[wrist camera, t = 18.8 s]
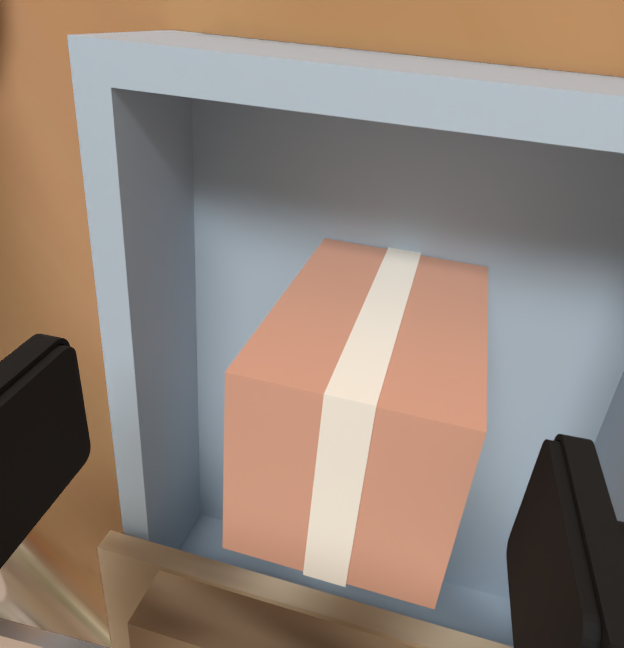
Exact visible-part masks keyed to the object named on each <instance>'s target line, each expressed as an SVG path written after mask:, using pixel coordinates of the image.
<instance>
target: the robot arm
mask: <svg viewBox="0 0 624 648" xmlns="http://www.w3.org/2000/svg"><path fill="white" fill-rule="evenodd" d="M89 453H90V439H89V432H88V426H87V420H86V413H85V407H84V400H83V394H82V387H81V381H80V375H79V368H78V362H77V355H76V351H75V349H74V348H72V347H70V345H69V342H68V341H67V340H66V339H64V338H59V337H54V336H49V335H43V334H36V335H34V336H32V337H31V338H30V339H28V340H27V341H26V342H25V343H23V344H22V345H21V346H20V347H18V348H17V349H16V350H14V351H13V352H12V353H11V354H9V355H8V356H7V357H6V358H4V359H3V360H2V361H1V362H0V569H1V567H2V566H3V565H4V564H5V562H6V561H7V560H8V559H9V557H10V556H11V555H12V554H13V552H14V551H15V550H16V549H17V547H18V546H19V545H20V544H21V542H22V541H23V540H24V539H25V537H26V536H27V535H28V534H29V532H30V531H31V530H32V529H33V527H34V526H35V525H36V524H37V522H38V521H39V520H40V519H41V517H42V516H43V515H44V514H45V513H46V511H47V510H48V509H49V508H50V506H51V505H52V504H53V503H54V501H55V500H56V499H57V498H58V496H59V495H60V494H61V493H62V491H63V490H64V489H65V488H66V486H67V485H68V484H69V483H70V481H71V480H72V479H73V478H74V476H75V475H76V474H77V473H78V471H79V470H80V469H81V468H82V466H83V465H84V464H85V462H86V461H87V459H88V457H89ZM506 560H507V572H508V585H509V597H510V609H511V622H512V634H513V646H514V648H624V522H622V521H617V518H616V515H615V512H614V508H613V505H612V502H611V498H610V495H609V492H608V488H607V485H606V482H605V478H604V475H603V472H602V468H601V465H600V461H599V458H598V455H597V451H596V448H595V445H594V443H593V441H592V440H590V439H585V438H580V437H575V436H569V435H564V434H557V436H556V437H555V439H554V441H553V440H548V439H546V440H544V442H543V444H542V446H541V449H540V452H539V455H538V457H537V460H536V463H535V466H534V469H533V471H532V474H531V477H530V480H529V483H528V485H527V488H526V491H525V494H524V497H523V499H522V502H521V505H520V508H519V510H518V513H517V516H516V519H515V522H514V524H513V527H512V530H511V533H510V536H509V539H508V543H507V551H506ZM0 648H108V647H104V646H101V645H97V644H93V643H90V642H86V641H83V640H79V639H75V638H72V637H68V636H64V635H61V634H57V633H53V632H50V631H46V630H42V629H38V628H35V627H31V626H27V625H24V624H20V623H16V622H13V621H9V620H5V619H2V618H0Z"/></svg>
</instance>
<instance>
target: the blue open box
mask: <svg viewBox="0 0 624 648" xmlns="http://www.w3.org/2000/svg"><path fill="white" fill-rule="evenodd" d="M67 38H68V47H69V56H70V65H71V73H72V82H73V91H74V100H75V109H76V118H77V127H78V136H79V144H80V153H81V162H82V171H83V180H84V189H85V198H86V207H87V216H88V224H89V233H90V242H91V251H92V260H93V269H94V278H95V287H96V295H97V304H98V313H99V322H100V331H101V340H102V349H103V358H104V366H105V375H106V384H107V393H108V402H109V411H110V420H111V429H112V437H113V446H114V455H115V464H116V473H117V482H118V491H119V500H120V509H121V517H122V526H123V534H126V535H130V536H133V537H137V538H140V539H143V540H147V541H150V542H154V543H157V544H161V545H164V546H167V547H171V548H174V549H178V550H181V551H185V552H188V553H191V554H195V555H198V556H202V557H205V558H209V559H212V560H216V561H219V562H222V563H226V564H229V565H233V566H236V567H240V568H243V569H246V570H250V571H253V572H257V573H260V574H264V575H267V576H271V577H274V578H277V579H281V580H284V581H288V582H291V583H295V584H298V585H301V586H305V587H308V588H312V589H315V590H319V591H322V592H325V593H329V594H332V595H336V596H339V597H343V598H346V599H350V600H353V601H356V602H360V603H363V604H367V605H370V606H374V607H377V608H380V609H384V610H387V611H391V612H394V613H398V614H401V615H404V616H408V617H411V618H415V619H418V620H422V621H425V622H429V623H432V624H435V625H439V626H442V627H446V628H449V629H453V630H456V631H459V632H463V633H466V634H470V635H473V636H477V637H480V638H484V639H487V640H490V641H494V642H497V643H501V644H504V645H508V646H511V647H514V646H513V634H512V622H511V609H510V597H509V585H508V572H507V560H506V551H507V543H508V539H509V536H510V533H511V530H512V527H513V524H514V522H515V519H516V516H517V513H518V510H519V508H520V505H521V502H522V499H523V497H524V494H525V491H526V488H527V485H528V483H529V480H530V477H531V474H532V471H533V469H534V466H535V463H536V460H537V457H538V455H539V452H540V449H541V446H542V444H543V442H544V440H546V439H548V440H553V441H554V439H555V437H556V436H557V434H564V435H569V436H575V437H580V438H585V439H590V440H592V441H593V443H594V445H595V448H596V451H597V455H598V458H599V461H600V465H601V468H602V472H603V475H604V478H605V482H606V485H607V488H608V492H609V495H610V498H611V502H612V505H613V508H614V512H615V515H616V518H617V521H622V522H624V77H614V76H605V75H595V74H586V73H576V72H567V71H557V70H548V69H538V68H528V67H519V66H509V65H500V64H490V63H481V62H471V61H462V60H452V59H443V58H433V57H424V56H414V55H405V54H395V53H386V52H376V51H367V50H357V49H347V48H338V47H328V46H319V45H309V44H300V43H290V42H281V41H271V40H262V39H252V38H243V37H233V36H224V35H214V34H205V33H195V32H186V31H176V30H160V31H138V32H117V33H95V34H73V35H67ZM324 238H327V239H332V240H338V241H344V242H349V243H355V244H361V245H366V246H372V247H378V248H383V249H388V247H390V248H396V249H401V250H407V251H413V252H418V253H421V255H423V256H428V257H434V258H440V259H445V260H451V261H457V262H462V263H468V264H474V265H479V266H485V267H488V346H487V433H486V436H485V440H484V443H483V446H482V450H481V453H480V457H479V460H478V463H477V467H476V470H475V474H474V477H473V480H472V484H471V487H470V491H469V494H468V497H467V501H466V504H465V508H464V511H463V514H462V518H461V521H460V525H459V528H458V531H457V535H456V538H455V542H454V545H453V548H452V552H451V555H450V559H449V562H448V565H447V569H446V572H445V576H444V579H443V582H442V586H441V589H440V593H439V596H438V599H437V603H436V606H435V610H434V609H431V608H427V607H424V606H420V605H417V604H414V603H410V602H407V601H403V600H400V599H396V598H393V597H389V596H386V595H383V594H379V593H376V592H372V591H369V590H365V589H362V588H359V587H355V586H352V585H348V584H346V586H345V587H343V586H340V585H336V584H333V583H329V582H326V581H323V580H319V579H316V578H312V577H309V576H305V575H303V571H300V570H297V569H293V568H290V567H286V566H283V565H279V564H276V563H273V562H269V561H266V560H262V559H259V558H255V557H252V556H248V555H245V554H242V553H238V552H235V551H231V550H228V549H224V548H222V541H223V470H224V400H225V371H226V370H227V369H228V367H229V366H230V365H231V363H232V362H233V361H234V359H235V358H236V357H237V355H238V354H239V352H240V351H241V350H242V348H243V347H244V346H245V344H246V343H247V342H248V340H249V339H250V338H251V336H252V335H253V334H254V332H255V331H256V330H257V328H258V327H259V326H260V324H261V323H262V322H263V320H264V319H265V318H266V316H267V315H268V314H269V312H270V311H271V310H272V308H273V307H274V305H275V304H276V303H277V301H278V300H279V299H280V297H281V296H282V295H283V293H284V292H285V291H286V289H287V288H288V287H289V285H290V284H291V283H292V281H293V280H294V279H295V277H296V276H297V275H298V273H299V272H300V271H301V269H302V268H303V267H304V265H305V264H306V263H307V261H308V260H309V258H310V257H311V256H312V254H313V253H314V252H315V250H316V249H317V248H318V246H319V245H320V244H321V242H322V241H323V240H324Z"/></svg>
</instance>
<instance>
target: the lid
mask: <svg viewBox="0 0 624 648" xmlns="http://www.w3.org/2000/svg"><path fill="white" fill-rule="evenodd" d="M97 551H98V558H99V565H100V571H101V578H102V585H103V592H104V599H105V606H106V612H107V619H108V626H109V633H110V640H111V647H112V648H514V647H511V646H508V645H504V644H501V643H497V642H494V641H490V640H487V639H484V638H480V637H477V636H473V635H470V634H466V633H463V632H459V631H456V630H453V629H449V628H446V627H442V626H439V625H435V624H432V623H429V622H425V621H422V620H418V619H415V618H411V617H408V616H404V615H401V614H398V613H394V612H391V611H387V610H384V609H380V608H377V607H374V606H370V605H367V604H363V603H360V602H356V601H353V600H350V599H346V598H343V597H339V596H336V595H332V594H329V593H325V592H322V591H319V590H315V589H312V588H308V587H305V586H301V585H298V584H295V583H291V582H288V581H284V580H281V579H277V578H274V577H271V576H267V575H264V574H260V573H257V572H253V571H250V570H246V569H243V568H240V567H236V566H233V565H229V564H226V563H222V562H219V561H216V560H212V559H209V558H205V557H202V556H198V555H195V554H191V553H188V552H185V551H181V550H178V549H174V548H171V547H167V546H164V545H161V544H157V543H154V542H150V541H147V540H143V539H140V538H137V537H133V536H130V535H126V534H123V533H119V532H116V531H112V530H110V531H109V532H108V533H107V535H106V536H105V537H104V539H103V540H102V541H101V543H100V544H99V546H98V547H97Z"/></svg>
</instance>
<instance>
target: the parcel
mask: <svg viewBox="0 0 624 648" xmlns="http://www.w3.org/2000/svg"><path fill="white" fill-rule="evenodd" d="M487 346H488V267H485V266H479V265H474V264H468V263H462V262H457V261H451V260H445V259H440V258H434V257H428V256H423V255H421V253H418V252H413V251H407V250H401V249H396V248H390V247H388V249H383V248H378V247H372V246H366V245H361V244H355V243H349V242H344V241H338V240H332V239H327V238H324V240H323V241H322V242H321V244H320V245H319V246H318V248H317V249H316V250H315V252H314V253H313V254H312V256H311V257H310V258H309V260H308V261H307V263H306V264H305V265H304V267H303V268H302V269H301V271H300V272H299V273H298V275H297V276H296V277H295V279H294V280H293V281H292V283H291V284H290V285H289V287H288V288H287V289H286V291H285V292H284V293H283V295H282V296H281V297H280V299H279V300H278V301H277V303H276V304H275V305H274V307H273V308H272V310H271V311H270V312H269V314H268V315H267V316H266V318H265V319H264V320H263V322H262V323H261V324H260V326H259V327H258V328H257V330H256V331H255V332H254V334H253V335H252V336H251V338H250V339H249V340H248V342H247V343H246V344H245V346H244V347H243V348H242V350H241V351H240V352H239V354H238V355H237V357H236V358H235V359H234V361H233V362H232V363H231V365H230V366H229V367H228V369H227V370H226V371H225V400H224V470H223V541H222V548H224V549H228V550H231V551H235V552H238V553H242V554H245V555H248V556H252V557H255V558H259V559H262V560H266V561H269V562H273V563H276V564H279V565H283V566H286V567H290V568H293V569H297V570H300V571H303V575H305V576H309V577H312V578H316V579H319V580H323V581H326V582H329V583H333V584H336V585H340V586H343V587H345V586H346V584H348V585H352V586H355V587H359V588H362V589H365V590H369V591H372V592H376V593H379V594H383V595H386V596H389V597H393V598H396V599H400V600H403V601H407V602H410V603H414V604H417V605H420V606H424V607H427V608H431V609H434V610H435V606H436V603H437V599H438V596H439V593H440V589H441V586H442V582H443V579H444V576H445V572H446V569H447V565H448V562H449V559H450V555H451V552H452V548H453V545H454V542H455V538H456V535H457V531H458V528H459V525H460V521H461V518H462V514H463V511H464V508H465V504H466V501H467V497H468V494H469V491H470V487H471V484H472V480H473V477H474V474H475V470H476V467H477V463H478V460H479V457H480V453H481V450H482V446H483V443H484V440H485V436H486V433H487Z"/></svg>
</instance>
